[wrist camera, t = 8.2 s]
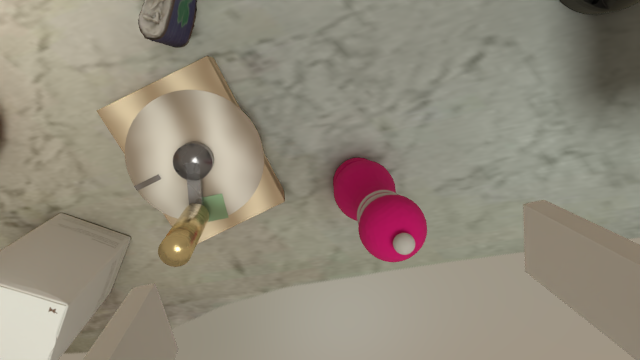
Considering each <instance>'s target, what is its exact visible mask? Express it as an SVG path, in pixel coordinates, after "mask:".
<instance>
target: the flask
mask: <svg viewBox="0 0 640 360" xmlns="http://www.w3.org/2000/svg"><path fill="white" fill-rule="evenodd" d="M196 2H197V0H144V4H143V6H142V10H141V12H140V14H139V20H138V24H139V28H140V31H141V33H142V34H143V35H144V37H145V38H146V39H149V40H151V41H155V42H159V43H163V44H166V45H169V46H172V47H184V46H185V45H186V44H187V43H188V41H189V39H190V37H191V34H192V30H193V27H194V22H195V18H196V11H197V8H196Z"/></svg>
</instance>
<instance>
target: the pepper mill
mask: <svg viewBox="0 0 640 360" xmlns="http://www.w3.org/2000/svg"><path fill="white" fill-rule="evenodd" d="M333 185H334V197H335V201H336V203H337V205H338V207H339V208H340V209H341V210H342V212H343V213H344V214H345V215H347V216H348V217H350V218H352V219H354V220H356V221H358V224H359V235H360V239H361V241H362V243H363V245H364V246H365V248H366V249H367V250H368V251H369V252H370V253H371V254H372V255H374V256H375V257H377V258H378V259H381V260H383V261H388V262H399V261H403V260H406V259H408V258H410V257H412V256H413V255H414V254H415V253H417V252H418V251H419V249H420V248H421V247H422V245H423V243H424V242H425V238H426V234H427V225H426V220H425V217H424V214H423V212H422V211H421V209H420V208H419V207H418V206H417V204H415V203H414V202H413V201H412V200H410V199H408V198H406V197H404V196H401V195H398V194H397V193H396V191H395V184H394V181H393V178H392V177H391V175H390V174H389V172H388V171H387V170H386V169H385V168H384V167H383V166H382V165H380V164H378V163H376V162H373V161H370V160H367V159H365V158H352V159H349V160H347V161H345V162H344V163H342V164H341V165H340V166H339V167H338V169H337V170H336V172H335V175H334V179H333Z"/></svg>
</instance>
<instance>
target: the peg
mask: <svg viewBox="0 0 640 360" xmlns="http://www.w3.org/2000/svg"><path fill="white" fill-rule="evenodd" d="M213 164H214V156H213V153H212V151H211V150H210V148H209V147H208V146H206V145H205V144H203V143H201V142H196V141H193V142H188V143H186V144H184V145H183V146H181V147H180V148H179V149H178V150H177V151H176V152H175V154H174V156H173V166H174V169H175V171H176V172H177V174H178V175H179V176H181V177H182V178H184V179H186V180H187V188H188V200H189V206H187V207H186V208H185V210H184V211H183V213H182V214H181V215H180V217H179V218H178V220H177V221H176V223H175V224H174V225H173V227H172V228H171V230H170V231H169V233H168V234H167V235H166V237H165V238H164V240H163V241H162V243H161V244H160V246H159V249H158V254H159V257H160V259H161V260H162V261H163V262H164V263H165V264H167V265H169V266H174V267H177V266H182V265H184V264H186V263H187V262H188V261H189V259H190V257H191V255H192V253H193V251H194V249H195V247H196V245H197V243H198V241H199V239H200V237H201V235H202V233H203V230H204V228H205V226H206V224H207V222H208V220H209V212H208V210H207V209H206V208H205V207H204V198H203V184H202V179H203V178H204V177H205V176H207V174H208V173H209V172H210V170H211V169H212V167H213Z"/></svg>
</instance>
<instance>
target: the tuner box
mask: <svg viewBox="0 0 640 360" xmlns="http://www.w3.org/2000/svg"><path fill="white" fill-rule="evenodd" d="M97 112H98V114H99V115H100V117H101V118H102V120H103V122H104V123H105V125H106V126H107V128H108V129H109V131H110V132H111V134H112V135H113V137H114V138H115V140H116V142H117V143H118V145H119V146H120V148H121V149H122V151H123V152H124V154H125V161H126V166H127V170H128V173H129V176H130V178H131V180H132V182H133V184H134V187H135V188H136V190H137V191H138V192H139V193H140V194H141V196H142V197H143V198H144V199H145V200H146V201H147V202H148V203H150V204H151V205H152V206H153V207H154V208H156V209H158V210H159V211H161V212H162V213H163V214H164V215H165V217H166V218H167V220H168V221H169V223H170V224H171V226H172V227H173V225H174V224H175V223H176V221H177V220H178V218H179V217H180V215H181V214H182V213H183V211H184V210H185V208H186V207H187V206H189V200H188V188H187V180H186V179H184V178H182V177H181V176H179V175H178V174H177V172H176V171H175V169H174V166H173V156H174V154H175V152H176V151H177V150H178V149H179V148H180V147H181V146H183V145H184V144H186V143H188V142H193V141H196V142H201V143H203V144H205V145H206V146H208V147H209V148H210V150H211V151H212V153H213V156H214V164H213V167H212V169H211V170H210V172H209V173H208V174H207V176H205V177H204V178H203V179H202V184H203V198H204V207H205V208H206V209H207V210H208V212H209V220H208V222H207V224H206V226H205V228H204V230H203V233H202V235H201V237H200V239H199V241H198V243H200V242H202V241H204V240H206V239H208V238H210V237H213V236H215V235H217V234H219V233H221V232H223V231H225V230H227V229H229V228H231V227H233V226H235V225H237V224H239V223H241V222H243V221H245V220H248V219H250V218H252V217H254V216H256V215H258V214H260V213H262V212H264V211H266V210H268V209H270V208H272V207H274V206H276V205H278V204H280V203H283V202H285V195H284V190H283V188H282V186H281V184H280V182H279V180H278V179H277V177H276V175H275V173H274V171H273V169H272V167H271V165H270V164H269V162H268V160H267V158H266V156H265V154H264V152H263V146H262V142H261V139H260V136H259V134H258V132H257V129H256V128H255V126H254V124H253V123H252V121H251V120H250V119H249V117H248V116H247V115H246V114H245V113H244V112H243V111H242V110H241V109H240V107H239V105H238V103H237V101H236V99H235V98H234V96H233V94H232V92H231V90H230V88H229V86H228V84H227V82H226V81H225V79H224V77H223V75H222V73H221V71H220V69H219V67H218V65H217V64H216V62H215V60H214V58H213V57H209V56H206V57H204V58H202V59H200V60H198V61H196V62H194V63H192V64H190V65H188V66H186V67H184V68H182V69H180V70H178V71H176V72H174V73H172V74H170V75H168V76H166V77H164V78H162V79H160V80H158V81H155V82H153V83H151V84H149V85H147V86H145V87H143V88H141V89H139V90H137V91H135V92H133V93H131V94H129V95H127V96H125V97H123V98H121V99H119V100H117V101H115V102H113V103H111V104H109V105H107V106H105V107H103V108H101V109H99V110H97ZM198 243H197V244H198Z"/></svg>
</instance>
